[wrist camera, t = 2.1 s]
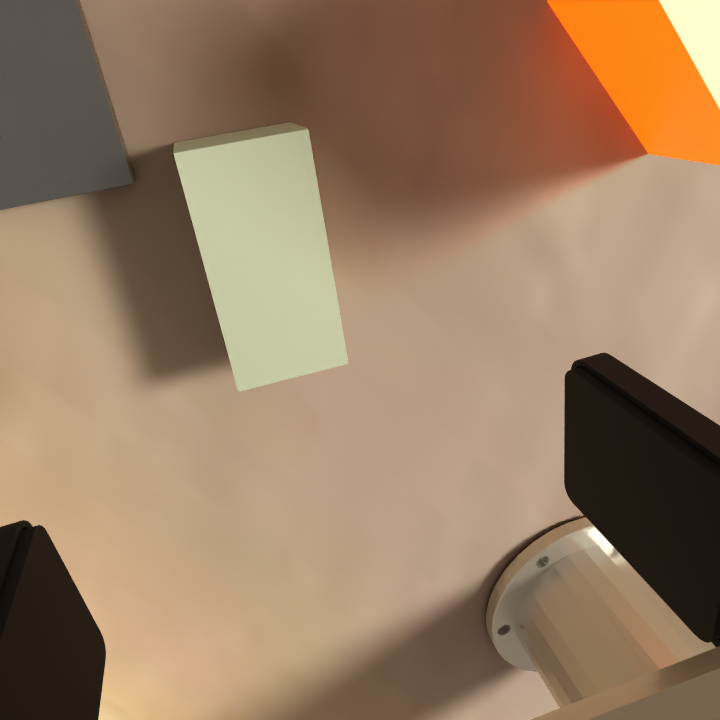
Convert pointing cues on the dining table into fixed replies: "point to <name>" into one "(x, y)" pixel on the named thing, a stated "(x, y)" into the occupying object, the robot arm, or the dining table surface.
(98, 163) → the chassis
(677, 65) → the orange juice
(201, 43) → the dining table surface
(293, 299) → the pale green block
